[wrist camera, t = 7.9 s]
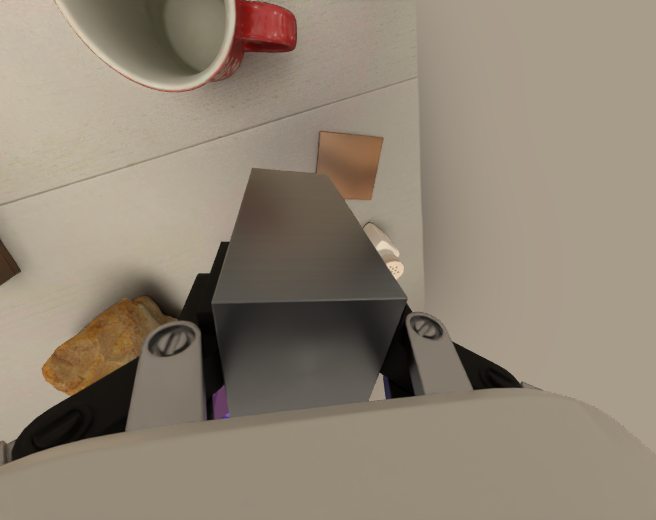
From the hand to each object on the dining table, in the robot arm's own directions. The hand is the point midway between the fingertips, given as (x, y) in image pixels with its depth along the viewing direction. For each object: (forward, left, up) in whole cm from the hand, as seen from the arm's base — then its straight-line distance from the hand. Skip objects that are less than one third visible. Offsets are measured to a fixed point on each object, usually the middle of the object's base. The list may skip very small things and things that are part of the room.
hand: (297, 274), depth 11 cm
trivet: (+1, +8, -24) cm, 26 cm away
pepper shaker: (+11, +13, -25) cm, 30 cm away
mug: (-10, -6, -25) cm, 27 cm away
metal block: (0, 0, -7) cm, 7 cm away
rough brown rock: (+29, -23, -25) cm, 44 cm away
